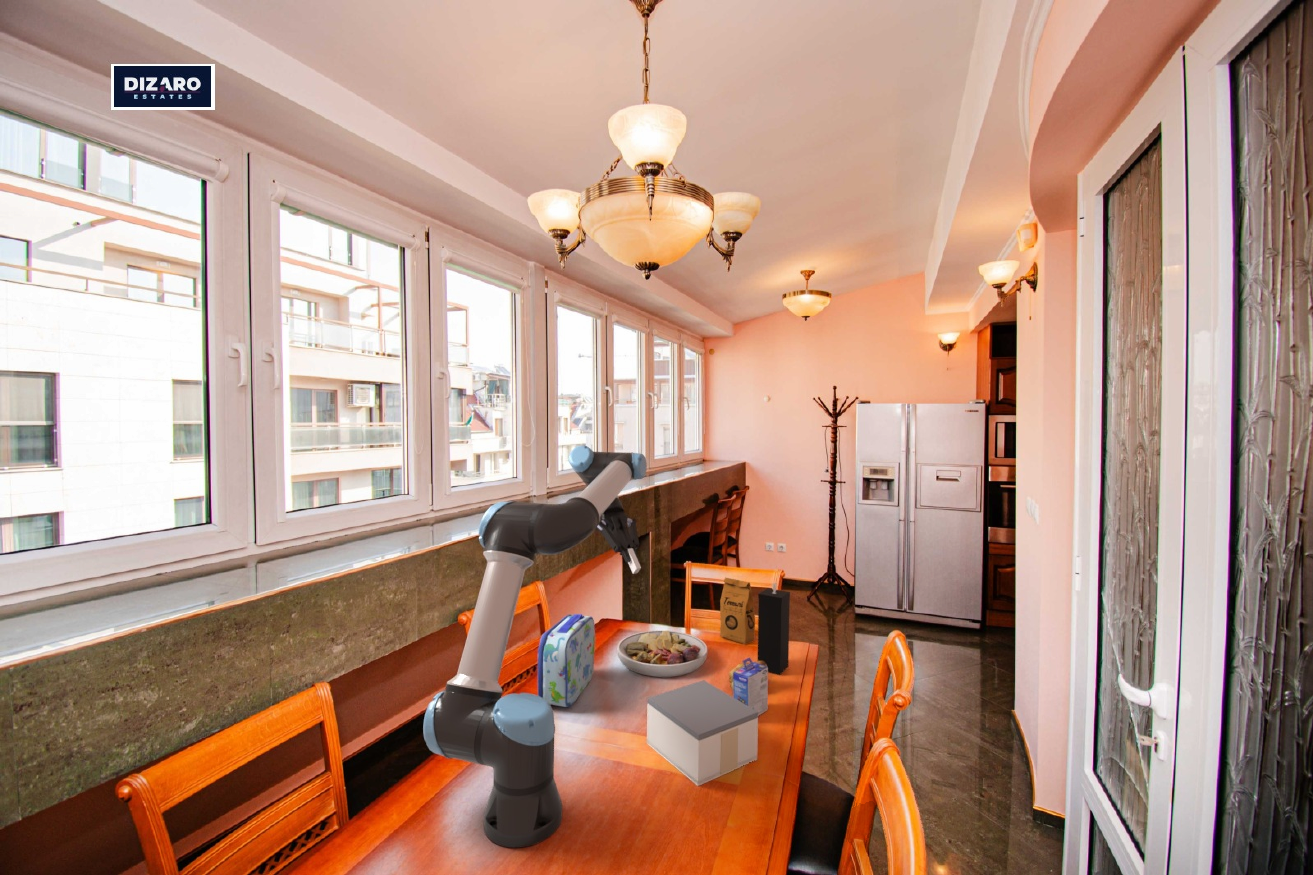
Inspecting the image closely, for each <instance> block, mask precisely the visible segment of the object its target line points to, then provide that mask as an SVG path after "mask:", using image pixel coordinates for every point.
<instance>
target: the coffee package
mask: <svg viewBox="0 0 1313 875" xmlns="http://www.w3.org/2000/svg"><path fill="white" fill-rule="evenodd" d="M723 582H724V583H723V589H722V592H721V597H720V600H719V602H720V605H719V606H720V608H719V609H720V614H719V616H720V619H719V621H720V627H719V629H720V630H719V637H721V638H724V639H728V640H731V641H733V642H735V643H739V644H742V645H745V646H746V645H748V644H750V643H752V641H753V642H754V641H755V634H756V615H755V602H754V601H755V600H754V596H753V590H752V587H751V583H750V582H747V581H743V580H739V579H736V578H735V579H734V578H729V577H724V579H723Z"/></svg>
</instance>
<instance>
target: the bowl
mask: <svg viewBox="0 0 1313 875" xmlns="http://www.w3.org/2000/svg"><path fill="white" fill-rule="evenodd" d="M616 649H617V650H616V652H617V656H618V659H619V661H620V662H621V663H622V665H623V666H624V667H626V668H627V669H629V670H630V671H632V672H635V673H637V674H640V675H642V676H643V675H644V676H648V677H655V678H670V677H671V678H672V677H680V676H683V675H687V674H690V673H693V672H695V671H696V670H698V669H699V668H701V667H702V665H703V664H704V662H706V659H707V656H708V646H707V644H706V643H705V642H704V641H703V640H702V639H700V638H699V637H696V636H694V635H692V634H689V633H685V632H680V631H676V630H675V631H673V630H649V631H641V632H636V633H634V634H630V635H628V636H626V637H624V638H622V639H621V640H620V641H619V642H618V643H617V648H616Z"/></svg>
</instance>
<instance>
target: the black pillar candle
mask: <svg viewBox="0 0 1313 875" xmlns="http://www.w3.org/2000/svg"><path fill="white" fill-rule="evenodd" d="M777 585H778V583H777V582H773V583H772V588H766V589H764V590H762V591H761V592H759V593H757V594H758V595H757V596H758V598H757V599H758V611H757V613H758V614H757V616H758V617H757V618H758V619H757V661H764V662H765V663H766V664H767V667H768V674H769V673H770V674H774V675H776V674H777V675H778V676H781V675H782V674H783V673H784V672H785V671H786V670H787V669H788V668H789V657H790V656H789V648H790V644H789V643H790V642H789V641H790V640H789V639H790V603H791V602H790V598H791V592H790V591H784V590H780V589H777V587H778V586H777Z"/></svg>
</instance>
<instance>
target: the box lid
mask: <svg viewBox="0 0 1313 875" xmlns="http://www.w3.org/2000/svg"><path fill="white" fill-rule="evenodd" d="M646 700H647V703H648V704H650V705H651V706H653V707H654V708H655V709H657V710H658V711H659V712H661V713H662V714H663V715H665V716H666V717H668V718H669V719H670V720H672V721H673V722H674V723H676V724H677V725H678V726H680V727H681V728H683V729H684V730H685V731H687V732H688V733H689V734H691V735H692V736H693V737H695V738H696V739H698V740H700V739H703V738H706V737H708V736H711V735H713V734H716V733H718V732H721V731H724V730H726V729H729V728H731V727H734V726H736V725H739V724H742V723H744V722H747V721H749V720H752V719H754V718H757V717H758V718H759V716H758V712H757V711H755V710H754V709H752V708H750V707H749V706H747V705H745V704H744V703H742V702H740V701H738V700H737V699H735V698H733V695H732V696H731V695H730V694H729V693H726V692H725V691H723V690H722V689H720V688H718V687H717V686H715V685H713V684H712V683H709V682H708V681H706V680H705V679H703V680H700V681H697V682H693V683H690V684H687V685H684V686H680V687H679V688H674V689H671V690H669V691H665V692H661V693H659V694H656V695H652V696H649V697H647V698H646ZM647 703H646V704H647Z"/></svg>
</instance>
